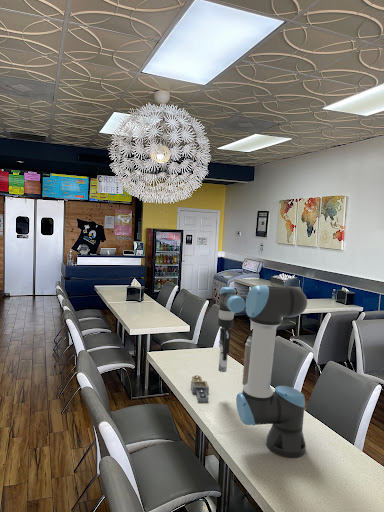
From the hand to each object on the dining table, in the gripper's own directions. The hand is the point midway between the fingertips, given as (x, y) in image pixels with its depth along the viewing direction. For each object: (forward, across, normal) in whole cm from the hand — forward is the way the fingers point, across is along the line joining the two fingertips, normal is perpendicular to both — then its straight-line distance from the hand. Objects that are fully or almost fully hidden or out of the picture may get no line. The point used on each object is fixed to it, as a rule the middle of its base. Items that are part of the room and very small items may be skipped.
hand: (222, 364), depth 195 cm
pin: (+3, 0, 0) cm, 3 cm away
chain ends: (+17, +8, +10) cm, 21 cm away
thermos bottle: (+17, +18, -20) cm, 32 cm away
